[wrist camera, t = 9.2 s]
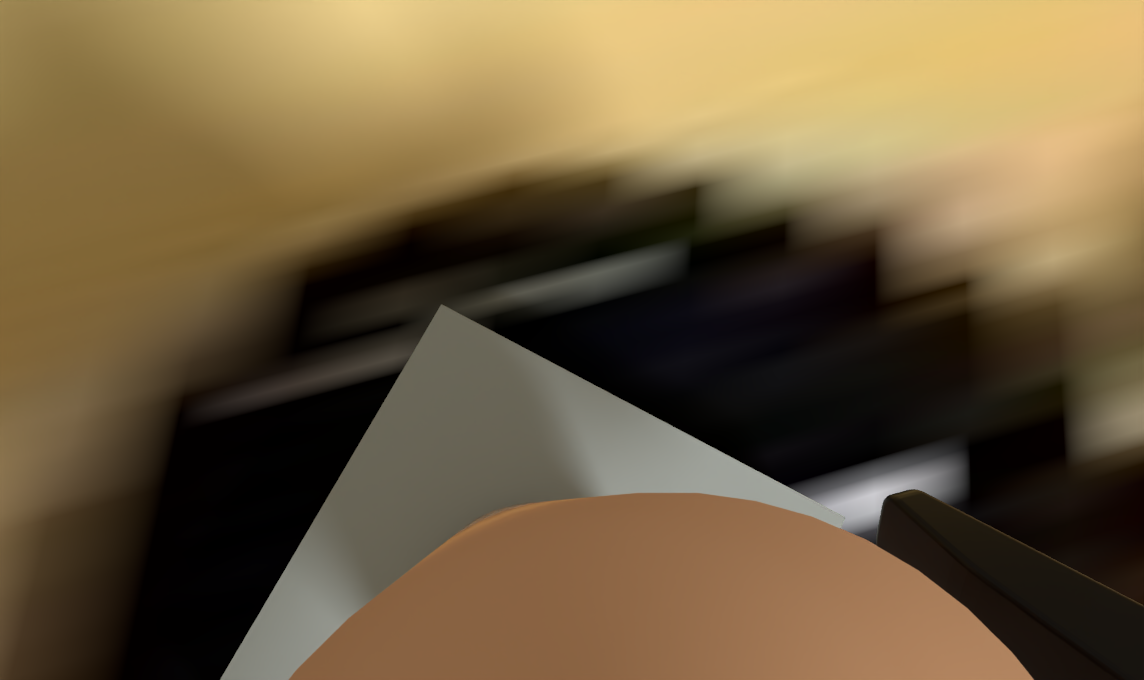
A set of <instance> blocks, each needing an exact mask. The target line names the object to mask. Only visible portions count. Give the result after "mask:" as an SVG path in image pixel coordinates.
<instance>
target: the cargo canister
mask: <svg viewBox="0 0 1144 680" xmlns="http://www.w3.org/2000/svg"><path fill="white" fill-rule="evenodd" d="M289 680H1034V679H1033V678H1032V677H1031V675H1030V674H1029V673H1028V672H1027V670H1026V669H1025V668H1024V667H1023V665H1022V664H1021V663H1020V662H1019V660H1018V659H1017V658H1016V657H1015V655H1014V654H1013V653H1012V652H1011V651H1010V650H1009V649H1008V648H1007V647H1006V646H1005V645H1004V644H1003V643H1002V642H1001V641H1000V640H999V639H998V638H997V637H996V636H995V635H994V634H993V633H992V632H991V631H990V630H989V629H988V628H987V627H986V626H985V625H984V624H983V623H982V622H981V621H980V620H979V619H978V618H977V617H976V616H975V615H974V614H973V613H972V612H971V611H970V610H969V609H968V608H966V607H965V606H964V605H963V604H961V603H960V602H959V601H957V600H956V599H955V598H953V597H952V596H951V595H950V594H948V593H947V592H946V591H944V590H943V589H942V588H941V587H939V586H938V585H937V584H935V583H934V582H933V581H931V580H930V579H929V578H928V577H926V576H925V575H924V574H922V573H921V572H920V571H918V570H917V569H915V568H913V567H912V566H910V565H908V564H907V563H905V562H903V561H902V560H900V559H898V558H897V557H895V556H893V555H891V554H890V553H888V552H886V551H885V550H883V549H881V548H880V547H878V546H876V545H874V544H873V543H871V542H869V541H868V540H866V539H863V538H861V537H859V536H856V535H854V534H852V533H849V532H847V531H845V530H842V529H840V528H838V527H835V526H833V525H831V524H828V523H826V522H824V521H821V520H819V519H817V518H814V517H812V516H808V515H805V514H801V513H797V512H794V511H790V510H787V509H783V508H780V507H776V506H772V505H769V504H765V503H762V502H758V501H753V500H746V499H739V498H731V497H724V496H717V495H710V494H702V493H631V494H620V495H608V496H597V497H586V498H575V499H564V500H553V501H542V502H531V503H523V504H516V505H511V506H507V507H504V508H500V509H497V510H494V511H492V512H490V513H487V514H485V515H483V516H481V517H479V518H477V519H476V520H474V521H472V522H471V523H469V524H467V525H466V526H465V527H464V528H462V529H461V530H460V531H458V532H457V533H456V534H454V535H453V536H452V537H451V538H449V539H448V540H447V541H446V542H444V543H443V544H442V545H441V546H439V547H438V548H437V549H435V550H434V551H433V552H432V553H430V554H429V555H428V556H427V557H425V558H424V559H423V560H422V561H420V562H419V563H418V564H416V565H415V566H414V567H413V568H411V569H410V570H409V571H408V572H406V573H405V574H404V575H403V576H401V577H400V578H399V579H397V580H396V581H395V582H394V583H392V584H391V585H390V586H389V587H387V588H386V589H385V590H384V591H382V592H381V593H380V594H378V595H377V596H376V597H375V598H373V599H372V600H371V601H370V602H368V603H367V604H366V605H365V606H363V607H362V608H361V609H359V610H358V611H357V612H356V613H354V614H353V615H352V616H351V617H349V618H348V619H347V620H346V621H345V622H344V623H343V624H342V625H341V626H340V627H339V628H338V629H337V630H336V631H335V632H334V633H333V634H332V635H331V636H330V637H329V638H328V639H327V640H326V641H325V642H324V643H323V644H322V645H321V646H320V647H319V648H318V649H317V650H316V651H315V652H314V653H313V654H312V655H311V656H310V657H309V658H308V659H307V660H306V661H305V662H304V663H303V664H302V665H301V666H300V667H299V668H298V669H297V670H296V671H295V672H294V673H293V675H292V676H291V677H290V678H289Z"/></svg>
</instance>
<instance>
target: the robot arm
mask: <svg viewBox="0 0 1144 680" xmlns="http://www.w3.org/2000/svg"><path fill="white" fill-rule="evenodd" d="M876 544H877V546H878V547H880V548H881V549H883V550H885V551H886V552H888V553H890V554H891V555H893V556H895V557H897V558H898V559H900V560H902V561H903V562H905V563H907V564H908V565H910V566H912V567H913V568H915V569H917V570H918V571H920V572H921V573H922V574H924V575H925V576H926V577H928V578H929V579H930V580H931V581H933V582H934V583H935V584H937V585H938V586H939V587H941V588H942V589H943V590H944V591H946V592H947V593H948V594H950V595H951V596H952V597H953V598H955V599H956V600H957V601H959V602H960V603H961V604H963V605H964V606H965V607H966V608H968V609H969V610H970V611H971V612H972V613H973V614H974V615H975V616H976V617H977V618H978V619H979V620H980V621H981V622H982V623H983V624H984V625H985V626H986V627H987V628H988V629H989V630H990V631H991V632H992V633H993V634H994V635H995V636H996V637H997V638H998V639H999V640H1000V641H1001V642H1002V643H1003V644H1004V645H1005V646H1006V647H1007V648H1008V649H1009V650H1010V651H1011V652H1012V653H1013V654H1014V655H1015V657H1016V658H1017V659H1018V660H1019V662H1020V663H1021V664H1022V665H1023V667H1024V668H1025V669H1026V670H1027V672H1028V673H1029V674H1030V675H1031V677H1032V678H1033V679H1034V680H1144V606H1143V605H1141V604H1139V603H1137V602H1136V601H1134V600H1132V599H1130V598H1128V597H1126V596H1124V595H1122V594H1120V593H1118V592H1116V591H1114V590H1112V589H1110V588H1108V587H1107V586H1105V585H1103V584H1101V583H1099V582H1097V581H1095V580H1093V579H1091V578H1089V577H1087V576H1085V575H1083V574H1081V573H1079V572H1078V571H1076V570H1074V569H1072V568H1070V567H1068V566H1066V565H1064V564H1062V563H1060V562H1058V561H1056V560H1054V559H1052V558H1050V557H1048V556H1047V555H1045V554H1043V553H1041V552H1039V551H1037V550H1035V549H1033V548H1031V547H1029V546H1027V545H1025V544H1023V543H1021V542H1019V541H1018V540H1016V539H1014V538H1012V537H1010V536H1008V535H1006V534H1004V533H1002V532H1000V531H998V530H996V529H994V528H992V527H990V526H989V525H987V524H985V523H983V522H981V521H979V520H977V519H975V518H973V517H971V516H969V515H967V514H965V513H963V512H961V511H960V510H958V509H956V508H954V507H952V506H950V505H948V504H946V503H944V502H942V501H940V500H938V499H936V498H934V497H932V496H931V495H929V494H927V493H925V492H922V491H919V490H915V489H913V490H907V491H903V492H899V493H896V494H892V495H889V496H887V497H886V499H885V500H884V502H883V505H882V510H881V515H880V520H879V525H878V531H877V536H876Z"/></svg>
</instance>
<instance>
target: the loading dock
mask: <svg viewBox="0 0 1144 680" xmlns="http://www.w3.org/2000/svg"><path fill="white" fill-rule="evenodd" d="M631 493H702V494H710V495H717V496H724V497H731V498H739V499H746V500H753V501H758V502H762V503H765V504H769V505H772V506H776V507H780V508H783V509H787V510H790V511H794V512H797V513H801V514H805V515H808V516H812V517H814V518H817V519H819V520H821V521H824V522H826V523H828V524H831V525H833V526H835V527H838V528H840V529H841V527H842V524H843V522H844V519H845V517H843V516H842V515H840V514H838V513H836V512H834V511H832V510H830V509H828V508H826V507H825V506H823V505H821V504H819V503H817V502H815V501H813V500H811V499H809V498H807V497H806V496H804V495H802V494H800V493H798V492H796V491H794V490H792V489H790V488H789V487H787V486H785V485H783V484H781V483H779V482H777V481H775V480H773V479H771V478H770V477H768V476H766V475H764V474H762V473H760V472H758V471H756V470H754V469H753V468H751V467H749V466H747V465H745V464H743V463H741V462H739V461H737V460H735V459H734V458H732V457H730V456H728V455H726V454H724V453H722V452H720V451H718V450H717V449H715V448H713V447H711V446H709V445H707V444H705V443H703V442H701V441H699V440H698V439H696V438H694V437H692V436H690V435H688V434H686V433H684V432H682V431H681V430H679V429H677V428H675V427H673V426H671V425H669V424H667V423H665V422H664V421H662V420H660V419H658V418H656V417H654V416H652V415H650V414H648V413H646V412H645V411H643V410H641V409H639V408H637V407H635V406H633V405H631V404H629V403H628V402H626V401H624V400H622V399H620V398H618V397H616V396H614V395H612V394H610V393H609V392H607V391H605V390H603V389H601V388H599V387H597V386H595V385H593V384H592V383H590V382H588V381H586V380H584V379H582V378H580V377H578V376H576V375H574V374H573V373H571V372H569V371H567V370H565V369H563V368H561V367H559V366H557V365H556V364H554V363H552V362H550V361H548V360H546V359H544V358H542V357H540V356H538V355H537V354H535V353H533V352H531V351H529V350H527V349H525V348H523V347H521V346H520V345H518V344H516V343H514V342H512V341H510V340H508V339H506V338H504V337H503V336H501V335H499V334H497V333H495V332H493V331H491V330H489V329H487V328H485V327H484V326H482V325H480V324H478V323H476V322H474V321H472V320H470V319H468V318H467V317H465V316H463V315H461V314H459V313H457V312H455V311H453V310H451V309H449V308H448V307H446V306H444V305H442V304H441V306H440V308H439V309H438V311H437V313H436V314H435V316H434V318H433V319H432V321H431V323H430V324H429V326H428V328H427V330H426V331H425V333H424V335H423V336H422V338H421V340H420V341H419V343H418V345H417V347H416V348H415V350H414V352H413V353H412V355H411V357H410V358H409V360H408V362H407V364H406V365H405V367H404V369H403V370H402V372H401V374H400V375H399V377H398V379H397V380H396V382H395V384H394V386H393V387H392V389H391V391H390V392H389V394H388V396H387V397H386V399H385V401H384V403H383V404H382V406H381V408H380V409H379V411H378V413H377V414H376V416H375V418H374V420H373V421H372V423H371V425H370V426H369V428H368V430H367V431H366V433H365V435H364V436H363V438H362V440H361V442H360V443H359V445H358V447H357V448H356V450H355V452H354V453H353V455H352V457H351V459H350V460H349V462H348V464H347V465H346V467H345V469H344V470H343V472H342V474H341V475H340V477H339V479H338V481H337V482H336V484H335V486H334V487H333V489H332V491H331V492H330V494H329V496H328V498H327V499H326V501H325V503H324V504H323V506H322V508H321V509H320V511H319V513H318V515H317V516H316V518H315V520H314V521H313V523H312V525H311V526H310V528H309V530H308V531H307V533H306V535H305V537H304V538H303V540H302V542H301V543H300V545H299V547H298V548H297V550H296V552H295V554H294V555H293V557H292V559H291V560H290V562H289V564H288V565H287V567H286V569H285V571H284V572H283V574H282V576H281V577H280V579H279V581H278V582H277V584H276V586H275V587H274V589H273V591H272V593H271V594H270V596H269V598H268V599H267V601H266V603H265V604H264V606H263V608H262V610H261V611H260V613H259V615H258V616H257V618H256V620H255V621H254V623H253V625H252V627H251V628H250V630H249V632H248V633H247V635H246V637H245V638H244V640H243V642H242V643H241V645H240V647H239V649H238V650H237V652H236V654H235V655H234V657H233V659H232V660H231V662H230V664H229V666H228V667H227V669H226V671H225V672H224V674H223V676H222V677H221V679H220V680H289V678H290V677H291V676H292V675H293V673H294V672H295V671H296V670H297V669H298V668H299V667H300V666H301V665H302V664H303V663H304V662H305V661H306V660H307V659H308V658H309V657H310V656H311V655H312V654H313V653H314V652H315V651H316V650H317V649H318V648H319V647H320V646H321V645H322V644H323V643H324V642H325V641H326V640H327V639H328V638H329V637H330V636H331V635H332V634H333V633H334V632H335V631H336V630H337V629H338V628H339V627H340V626H341V625H342V624H343V623H344V622H345V621H346V620H347V619H348V618H349V617H351V616H352V615H353V614H354V613H356V612H357V611H358V610H359V609H361V608H362V607H363V606H365V605H366V604H367V603H368V602H370V601H371V600H372V599H373V598H375V597H376V596H377V595H378V594H380V593H381V592H382V591H384V590H385V589H386V588H387V587H389V586H390V585H391V584H392V583H394V582H395V581H396V580H397V579H399V578H400V577H401V576H403V575H404V574H405V573H406V572H408V571H409V570H410V569H411V568H413V567H414V566H415V565H416V564H418V563H419V562H420V561H422V560H423V559H424V558H425V557H427V556H428V555H429V554H430V553H432V552H433V551H434V550H435V549H437V548H438V547H439V546H441V545H442V544H443V543H444V542H446V541H447V540H448V539H449V538H451V537H452V536H453V535H454V534H456V533H457V532H458V531H460V530H461V529H462V528H464V527H465V526H466V525H467V524H469V523H471V522H472V521H474V520H476V519H477V518H479V517H481V516H483V515H485V514H487V513H490V512H492V511H494V510H497V509H500V508H504V507H507V506H511V505H516V504H523V503H531V502H542V501H553V500H564V499H575V498H586V497H597V496H608V495H620V494H631Z"/></svg>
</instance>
